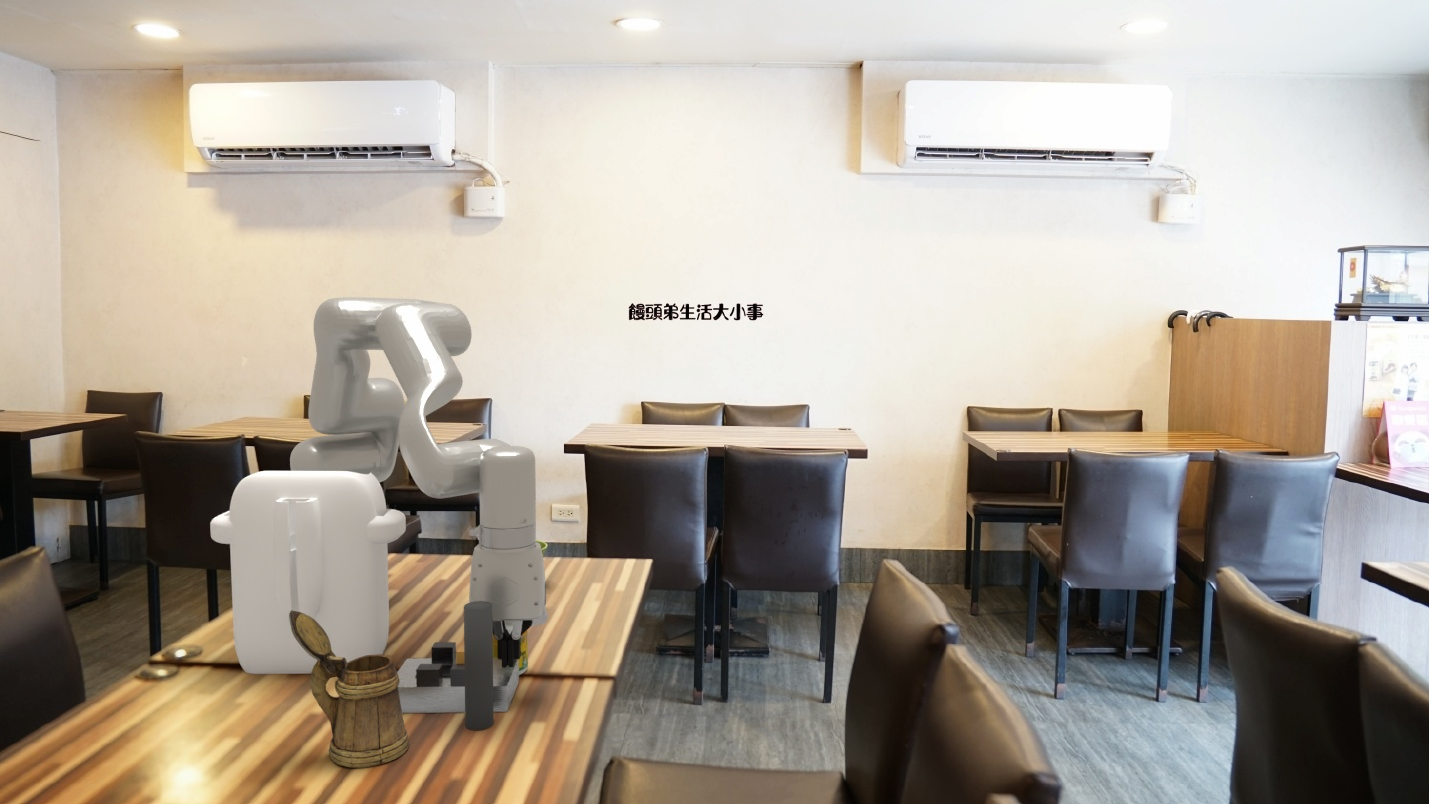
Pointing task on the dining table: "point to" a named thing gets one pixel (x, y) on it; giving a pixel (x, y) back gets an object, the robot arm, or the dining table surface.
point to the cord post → (478, 665)
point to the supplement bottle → (524, 651)
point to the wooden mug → (355, 699)
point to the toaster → (308, 564)
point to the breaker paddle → (460, 654)
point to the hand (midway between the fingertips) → (509, 663)
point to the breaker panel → (448, 682)
